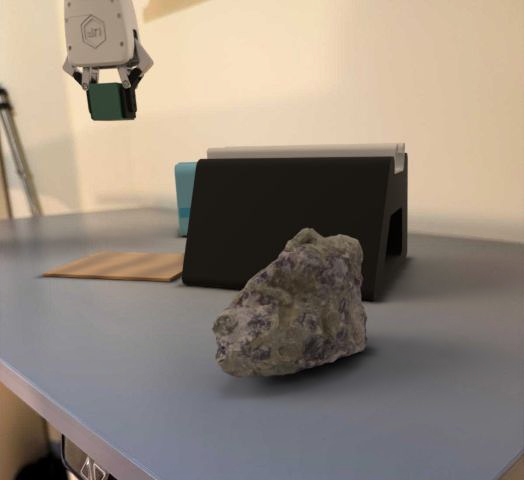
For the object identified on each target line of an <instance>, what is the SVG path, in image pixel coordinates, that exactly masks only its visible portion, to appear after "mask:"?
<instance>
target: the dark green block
mask: <svg viewBox="0 0 524 480" xmlns="http://www.w3.org/2000/svg"><path fill="white" fill-rule="evenodd" d="M88 86H89V94H90V101H91V108H92V116H93V120H92V121H93V122H121V121H123V122H124V121H135V118H134V119H130V118H124V117H123V115H122V106H121V98H120V89H123V87H122V82H117V81H116V82H115V81H114V82H99V83H96V84H88Z"/></svg>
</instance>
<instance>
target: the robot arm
mask: <svg viewBox="0 0 524 480" xmlns="http://www.w3.org/2000/svg"><path fill="white" fill-rule="evenodd" d="M63 22H64V37H65V47H66V54H67V55H66V56H65V59H64V62H63V64H62V67H61V68H62V70H63V71H64V72H65V73H66V74H67V75H69V76H70V77H71V78H73V79H74V80H75V81H76V83H78V84H79V86H80V87H81V89H82V90H83V91H84V92H85V94H86V101H87V108H88V109H87V110H88V113H89V115H90V119H91V120H92V121H93V116H92V108H91V101H90V94H89V86H88V84H96V83H100V71H101V70H115V69H116V70H117V73H118V76H119V80H120V83H122V87H123V89H120V98H121V106H122V115H123V117H124V118H130V119H134V120H135V119H136V118H137V112H138V103H137V95H136V90H137V89H138V87H139V84H140V83H141V81H142V79H143V78H144V76H145V74H147V73H148V72H149V70H151V68H153V66H154V60H153V58H152V57H151V56H150V54H149V53H148V51H146V49H145V48H144V46H143V45H142V43H141V36H140V29H139V25H138V19H137V15H136V10H135V5H134V2H133V0H63ZM79 68H82V71H81V70H80V69H79Z"/></svg>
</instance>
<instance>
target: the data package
mask: <svg viewBox="0 0 524 480" xmlns="http://www.w3.org/2000/svg"><path fill="white" fill-rule="evenodd" d="M197 162H198V161H185V162H184V161H182V162H178V163H177V164H175V165H174V168H173V169H174V182H175V183H174V184H175V193H176V205H177V206H176V207H177V216H178V218H177V219H178V228H179V229H178V230H179V235H180V237H187V231H188V223H189V216H190V208H191V200H192V193H193V185H194V177H195V170H196V164H197Z"/></svg>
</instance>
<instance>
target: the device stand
mask: <svg viewBox="0 0 524 480" xmlns="http://www.w3.org/2000/svg"><path fill="white" fill-rule="evenodd" d="M405 151H406V142H379V143H378V142H376V143H375V142H374V143H369V142H368V143H337V144H336V143H332V144H331V143H329V144H327V143H326V144H285V145H283V144H281V145H241V146H240V145H239V146H235V145H234V146H224V147H208V148H207V149H206V158H199V159H198V160H197V161H196V162H197V164H196V170H195V177H194V185H193V193H192V200H191V208H190V216H189V223H188V231H187V236H186V238H185V247H184V253H183V254H184V262H183V269H182V274H181V282H182V284H183V285H187V286H199V287H209V288H220V289H221V288H223V289H232V290H233V289H234V290H243V289H244V287H245V286H246V284H247V282H248V281H249V280H250V279H251V278H253V277H254V276H255V275H256V274H257V273H259V272H260V271H261V270H263V269H265V268H266V267H268V266H269V265H270V264H271V263H272V262H273V261H275V260H277V258H278V257H279V255H280V254H281V253H282V251H283V250H284V249H285V247H286V244H287V242H288V241H289V240H292V239H293V238H294V237H295V236H296V235H297V234H298V233H299V232H300V231H301V230H302V229H305V228H309V229H312V228H313V229H314V230H315V231H316V232H317V233H318V234H319V235H321V236H322V237H324V238H326V237H330V236H337V235H339V234H341V235H346V236H349V237H351V238H354V239H357V240H358V241H359V243H360V245H361V248H362V252H363V262H362V264H361V274H362V277H363V282H362V286H361V287H360V292H361V300H364V301H365V300H366V301H376V300H377V299H378V297H379V296H380V295H381V293H382V292H383V290H384V289H385V288H386V286H387V285H388V284H389V282H390V281H391V279H392V278H393V277H394V275H395V274H396V273H397V271H398V270H399V269H400V267H401V266H402V265H403V263H404V262H405V260H406V259H407V255H408V238H409V237H408V236H409V235H408V232H409V231H408V226H409V223H408V217H409V216H408V212H409V211H408V209H409V207H408V206H409V205H408V204H409V203H408V202H409V201H408V200H409V199H408V198H409V192H408V191H409V155H408V152H405Z"/></svg>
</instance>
